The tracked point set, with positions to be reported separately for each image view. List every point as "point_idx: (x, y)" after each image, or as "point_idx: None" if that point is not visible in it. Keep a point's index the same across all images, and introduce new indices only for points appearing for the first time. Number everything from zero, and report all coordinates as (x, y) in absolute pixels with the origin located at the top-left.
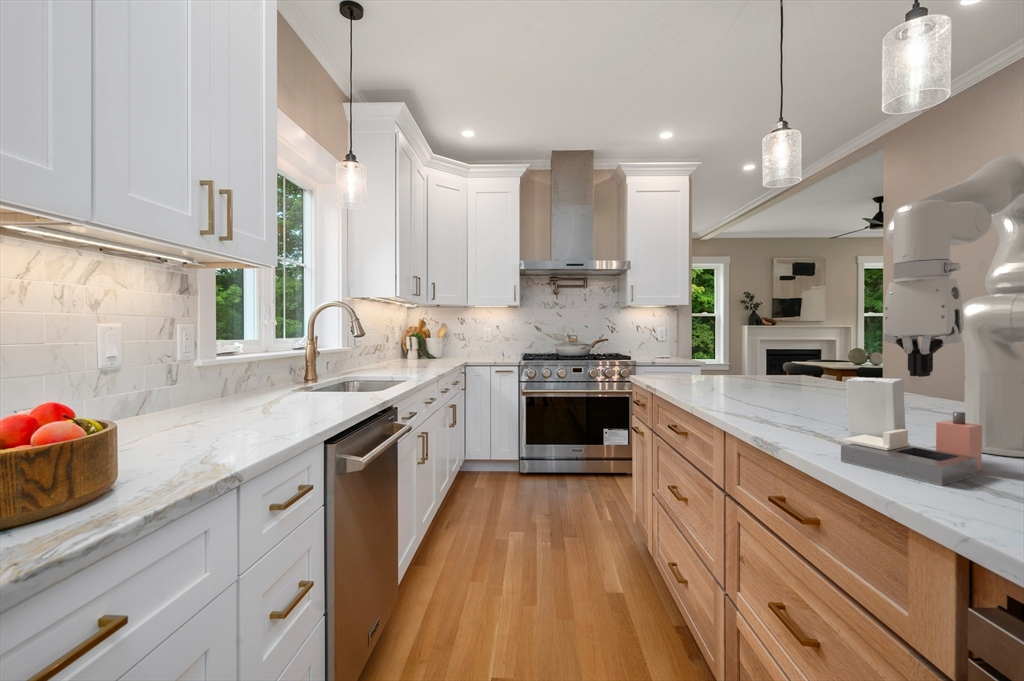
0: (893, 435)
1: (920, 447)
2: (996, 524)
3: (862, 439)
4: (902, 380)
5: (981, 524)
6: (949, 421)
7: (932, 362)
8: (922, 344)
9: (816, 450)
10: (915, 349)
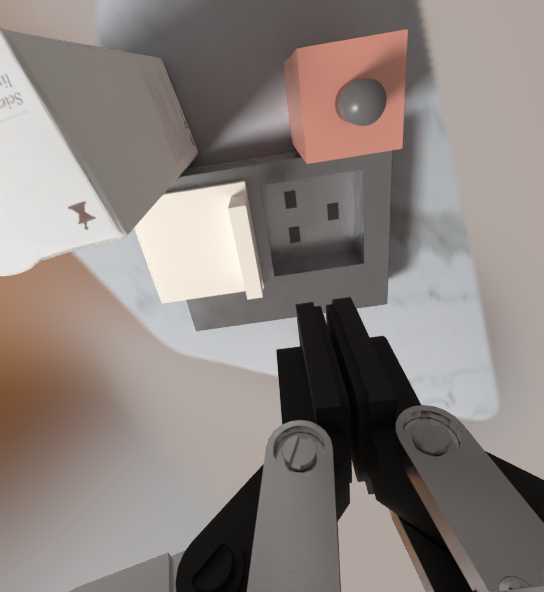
0: (259, 275)
1: (265, 166)
2: (475, 369)
3: (179, 266)
4: (22, 54)
5: (464, 382)
6: (315, 88)
7: (402, 374)
8: (428, 575)
9: (107, 283)
10: (342, 506)
